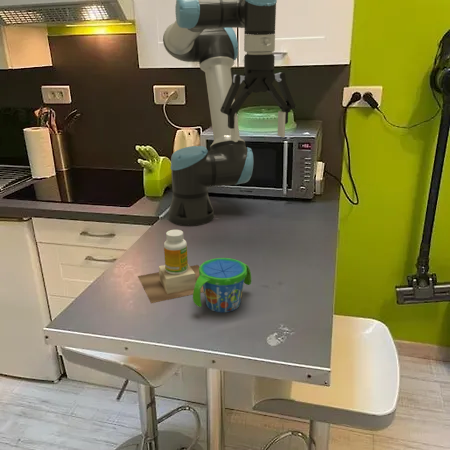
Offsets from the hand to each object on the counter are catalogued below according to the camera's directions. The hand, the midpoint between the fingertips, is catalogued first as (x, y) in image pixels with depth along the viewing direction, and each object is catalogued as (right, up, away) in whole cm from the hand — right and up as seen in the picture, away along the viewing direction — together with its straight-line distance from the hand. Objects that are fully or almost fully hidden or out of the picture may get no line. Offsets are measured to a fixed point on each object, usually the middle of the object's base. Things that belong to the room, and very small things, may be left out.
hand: (258, 138), depth 128 cm
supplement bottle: (-20, -34, -11) cm, 41 cm away
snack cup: (-9, -42, -18) cm, 46 cm away
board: (-21, -38, -9) cm, 44 cm away
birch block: (-20, -37, -10) cm, 44 cm away
